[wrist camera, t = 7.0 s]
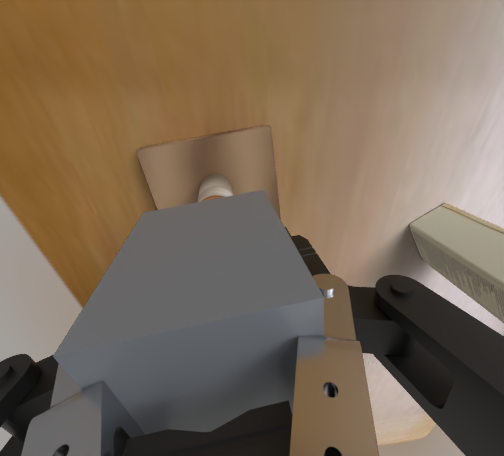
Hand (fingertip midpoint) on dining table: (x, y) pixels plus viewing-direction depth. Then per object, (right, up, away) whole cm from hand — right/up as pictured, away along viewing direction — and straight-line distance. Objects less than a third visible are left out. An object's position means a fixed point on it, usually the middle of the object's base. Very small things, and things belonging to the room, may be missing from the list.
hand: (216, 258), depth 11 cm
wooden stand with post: (-2, +5, +10) cm, 11 cm away
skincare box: (+21, +1, +16) cm, 27 cm away
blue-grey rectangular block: (0, 0, +1) cm, 1 cm away
